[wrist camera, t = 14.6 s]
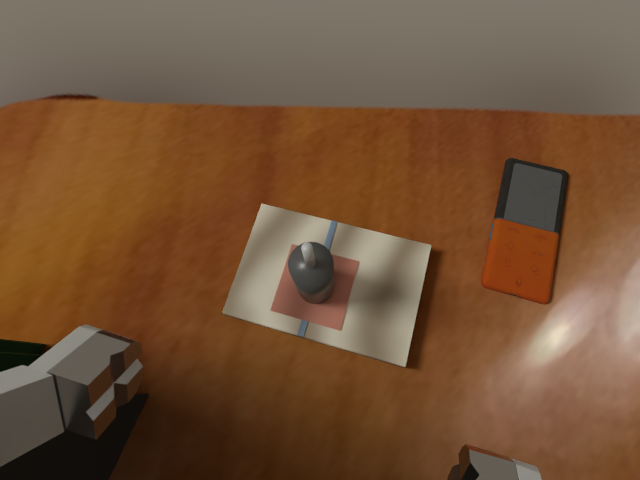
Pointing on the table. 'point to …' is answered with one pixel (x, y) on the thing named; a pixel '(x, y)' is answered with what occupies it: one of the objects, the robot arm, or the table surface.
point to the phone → (525, 231)
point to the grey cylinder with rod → (312, 271)
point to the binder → (68, 436)
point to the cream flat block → (349, 285)
